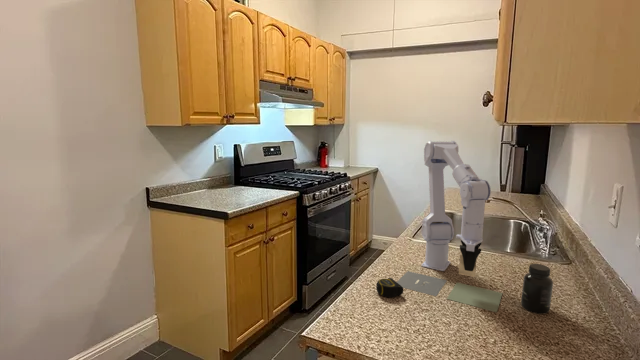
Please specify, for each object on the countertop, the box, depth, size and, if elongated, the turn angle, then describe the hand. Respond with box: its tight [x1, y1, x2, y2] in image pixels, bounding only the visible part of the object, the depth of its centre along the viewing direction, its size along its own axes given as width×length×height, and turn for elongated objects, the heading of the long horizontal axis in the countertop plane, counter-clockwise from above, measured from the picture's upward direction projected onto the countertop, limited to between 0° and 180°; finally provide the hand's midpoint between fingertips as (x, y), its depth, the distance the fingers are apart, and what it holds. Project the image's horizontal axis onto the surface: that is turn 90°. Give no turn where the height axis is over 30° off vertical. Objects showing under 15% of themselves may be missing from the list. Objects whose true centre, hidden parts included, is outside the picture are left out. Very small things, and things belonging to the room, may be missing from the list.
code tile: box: [396, 270, 447, 297], centre depth 113 cm, size 13×13×1 cm
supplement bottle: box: [520, 263, 554, 315], centre depth 97 cm, size 7×7×12 cm
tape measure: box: [375, 277, 404, 298], centre depth 105 cm, size 7×7×4 cm
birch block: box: [458, 251, 478, 278], centre depth 104 cm, size 4×4×6 cm
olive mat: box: [446, 281, 503, 313], centre depth 104 cm, size 13×13×1 cm
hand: (468, 267), depth 104 cm, fingers closed on birch block, 4 cm apart
